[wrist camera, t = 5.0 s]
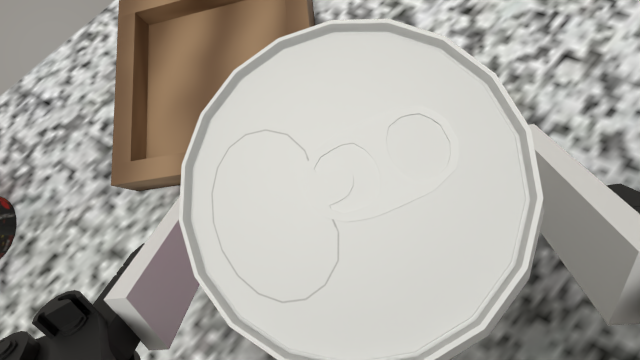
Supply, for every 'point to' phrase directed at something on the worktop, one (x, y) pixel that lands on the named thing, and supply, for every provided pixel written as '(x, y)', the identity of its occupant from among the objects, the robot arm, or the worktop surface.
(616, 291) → the robot arm
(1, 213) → the deodorant
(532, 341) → the worktop surface
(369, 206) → the supplement can
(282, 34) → the tray
